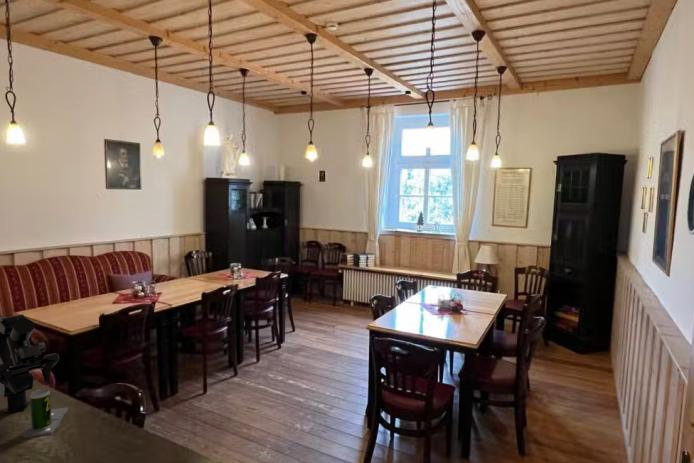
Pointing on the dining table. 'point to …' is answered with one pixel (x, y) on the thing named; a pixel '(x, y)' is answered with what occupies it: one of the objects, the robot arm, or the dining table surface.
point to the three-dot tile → (47, 431)
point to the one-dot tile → (58, 413)
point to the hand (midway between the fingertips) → (32, 388)
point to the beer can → (40, 409)
